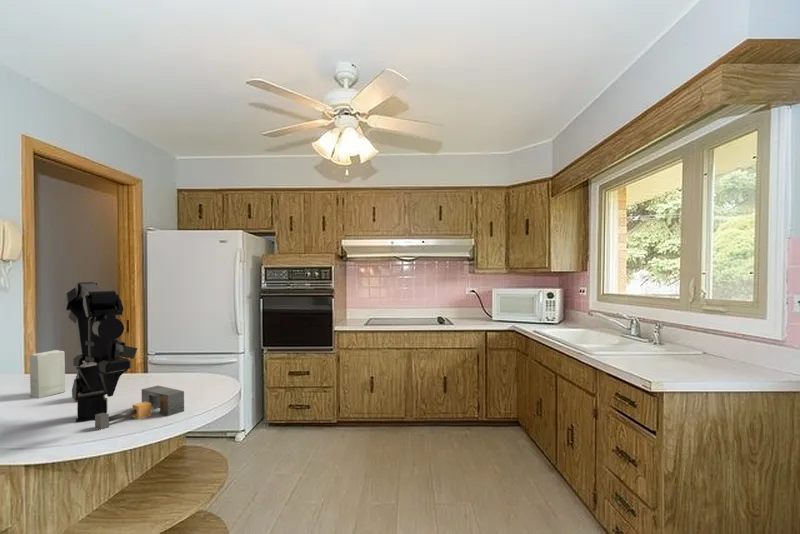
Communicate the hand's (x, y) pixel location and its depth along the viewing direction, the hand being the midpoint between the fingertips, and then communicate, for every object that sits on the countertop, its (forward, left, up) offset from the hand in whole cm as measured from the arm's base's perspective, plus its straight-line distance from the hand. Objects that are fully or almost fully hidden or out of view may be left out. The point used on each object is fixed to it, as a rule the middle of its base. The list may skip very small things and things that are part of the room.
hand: (101, 393), depth 114 cm
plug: (+5, +3, -9) cm, 11 cm away
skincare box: (-21, +50, -9) cm, 55 cm away
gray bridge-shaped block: (+14, +8, -9) cm, 19 cm away
